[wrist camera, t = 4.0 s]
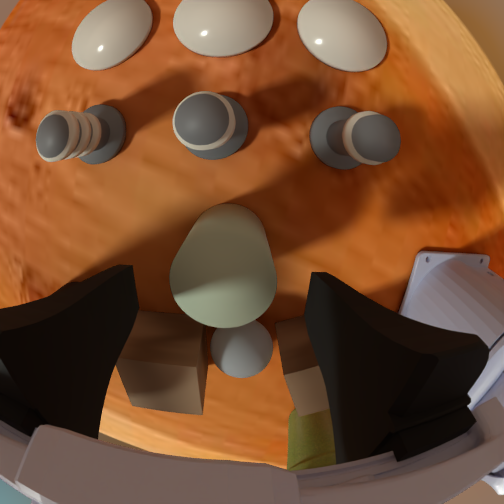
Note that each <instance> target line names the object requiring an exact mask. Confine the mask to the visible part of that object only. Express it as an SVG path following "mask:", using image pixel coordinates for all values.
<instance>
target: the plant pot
mask: <svg viewBox="0 0 504 504" xmlns="http://www.w3.org/2000/svg"><path fill="white" fill-rule="evenodd" d="M331 465H336V456H335V444H334V435H333V427H332V420H331V414H330V409H326V410H323V411H319V412H316V413H312V414H308V415H304V416H300V417H299V416H298V413H297V410H296V409H294V410H293V411H292V413H291V414H290V416H289V427H288V459H287V470H289V471H295V470H304V469H312V468H319V467H325V466H331Z"/></svg>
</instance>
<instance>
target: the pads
mask: <svg viewBox="0 0 504 504" xmlns="http://www.w3.org/2000/svg"><path fill="white" fill-rule="evenodd" d="M152 23H153V14H152V11H151V9H150V7H149V6H148V4H147V3H146V2H145V1H144V0H108V1H106V2H104V3H102V4H100V5H99V6H97V7H96V8H95V9H93V10H92V11H91V12H90V13H89V14H88V15H87V16H86V17H85V18H84V19H83V21H82V22H81V23H80V25H79V27H78V28H77V30H76V32H75V35H74V38H73V42H72V54H73V57H74V59H75V61H76V62H77V63H78V64H79V65H80V66H81V67H83V68H86V69H89V70H94V71H101V70H106V69H110V68H112V67H115V66H117V65H119V64H121V63H122V62H124V61H126V60H127V59H128V58H130V57H131V56H132V55H133V54H134V53H135V52H136V51H137V50H138V49H139V48H140V47H141V46H142V45H143V43H144V42H145V40H146V39H147V37H148V35H149V33H150V31H151V28H152ZM272 23H273V10H272V7H271V5H270V3H269V1H268V0H183V1H182V2H181V3H180V4H179V6H178V8H177V10H176V12H175V15H174V19H173V26H174V31H175V33H176V35H177V37H178V39H179V40H180V42H181V43H182V44H183V45H184V46H185V47H186V48H188V49H189V50H191V51H193V52H195V53H197V54H200V55H203V56H207V57H217V58H221V57H231V56H236V55H240V54H242V53H245V52H247V51H249V50H251V49H253V48H255V47H256V46H258V45H259V44H260V43H261V42H262V41H263V40H264V39H265V38H266V37H267V35H268V34H269V32H270V30H271V27H272ZM297 29H298V34H299V36H300V39H301V41H302V42H303V44H304V45H305V47H306V48H307V49H308V50H309V52H310V53H311V54H312V55H313V56H315V57H316V58H317V59H318V60H320V61H321V62H323V63H324V64H326V65H328V66H330V67H332V68H335V69H338V70H341V71H346V72H362V71H366V70H369V69H371V68H373V67H375V66H376V65H377V64H379V63H380V62H381V61H382V59H383V58H384V56H385V53H386V49H387V40H386V35H385V32H384V30H383V28H382V26H381V24H380V22H379V21H378V20H377V18H376V17H375V16H374V15H373V14H372V13H371V12H370V11H369V10H368V9H366V8H365V7H364V6H362V5H361V4H359V3H357V2H355V1H353V0H310V1H308V2H307V3H306V4H305V5H304V6H303V8H302V9H301V11H300V13H299V15H298V19H297Z"/></svg>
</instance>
